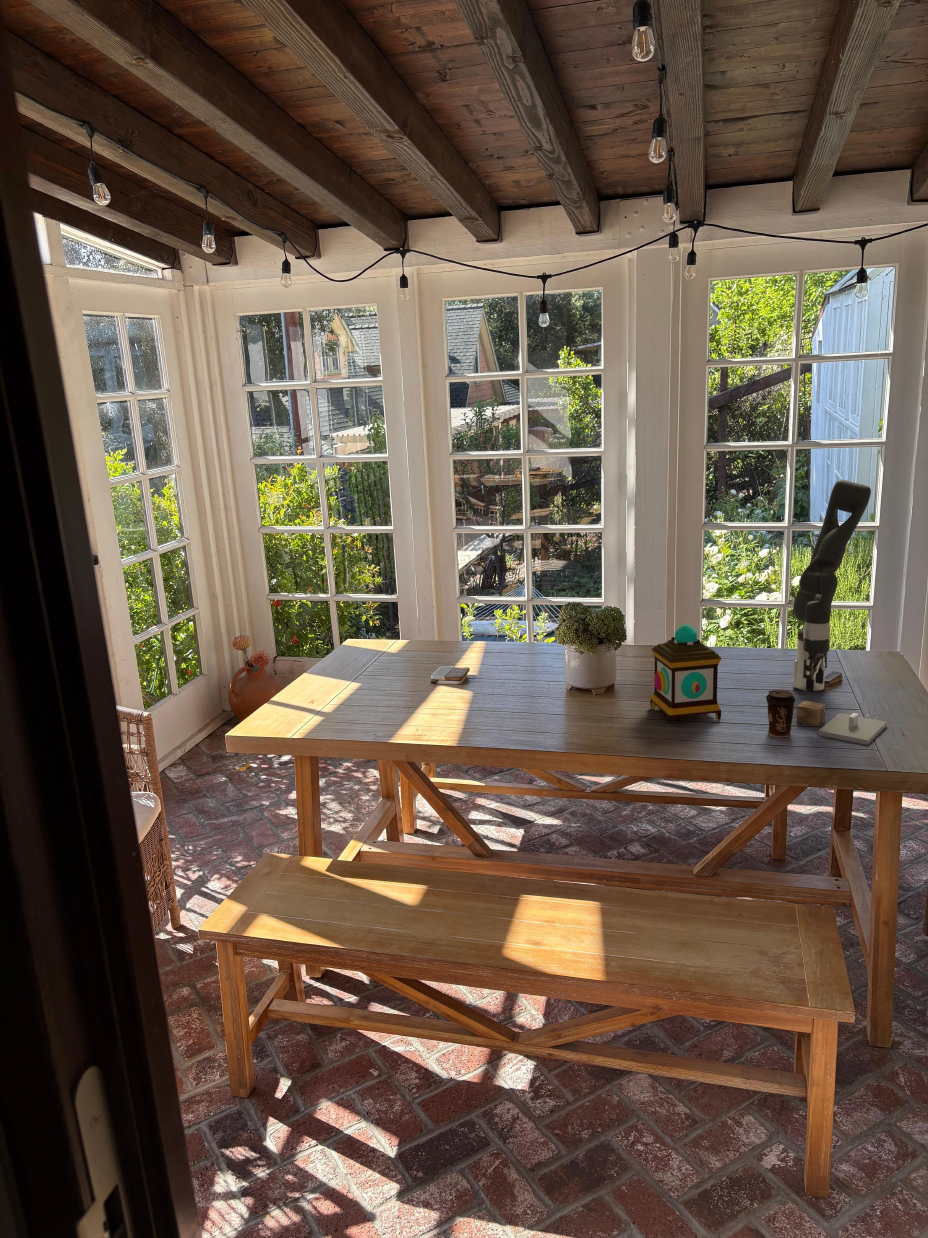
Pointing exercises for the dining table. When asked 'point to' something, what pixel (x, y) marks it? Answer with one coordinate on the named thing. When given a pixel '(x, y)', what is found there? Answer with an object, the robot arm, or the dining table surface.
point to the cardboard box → (811, 713)
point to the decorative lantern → (685, 676)
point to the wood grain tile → (853, 720)
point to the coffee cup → (780, 712)
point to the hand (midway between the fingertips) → (814, 687)
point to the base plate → (853, 729)
